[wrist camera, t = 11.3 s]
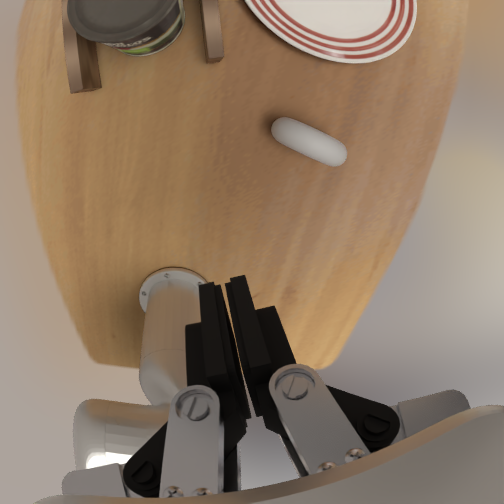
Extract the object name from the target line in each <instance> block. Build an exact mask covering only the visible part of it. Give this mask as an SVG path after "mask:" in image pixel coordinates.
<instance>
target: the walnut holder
mask: <svg viewBox="0 0 504 504" xmlns="http://www.w3.org/2000/svg"><path fill="white" fill-rule="evenodd" d="M199 1H200V10H201V19H202V27H203V36H204V44H205V52H206V61H207V64H208V63H215V62H220V61H221V60H222V59H223V57H224V50H223V42H222V33H221V25H220V16H219V8H218V0H199ZM67 2H68V0H62V22H63V36H64V47H65V57H66V65H67V72H68V79H69V86H70V92H71V93H79V92H87V91H93V90H96V89H99V88H102V87H101V81H100V74H99V67H98V59H97V51H96V43H95V41H91V40H88V39H86V38H84V37H82V36H81V35H79V34H78V33H77V32H76V31H75V30H74V28H73V27H72V26H71V24H70V22H69V19H68V15H67Z"/></svg>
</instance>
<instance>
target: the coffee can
mask: <svg viewBox="0 0 504 504" xmlns="http://www.w3.org/2000/svg"><path fill="white" fill-rule="evenodd" d="M67 15H68V19H69V22H70V24H71V26H72V27H73V28H74V30H75V31H76V32H77V33H78V34H79V35H81V36H82V37H84V38H86V39H88V40H91V41H95V42H100V43H103V44H105V45H108V46H110V47H113V48H115V49H117V50H119V51H121V52H122V53H125V54H128V55H132V56H147V55H151V54H154V53H157V52H159V51H161V50H163V49H165V48H166V47H168V46H169V45H170V44H171V43H173V42H174V41H175V39H176V38H177V37H178V36H179V34H180V32H181V31H182V28H183V26H184V22H185V10H184V7H183V0H68V2H67Z"/></svg>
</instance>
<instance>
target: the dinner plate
mask: <svg viewBox="0 0 504 504" xmlns="http://www.w3.org/2000/svg"><path fill="white" fill-rule="evenodd" d="M245 2H246V3H247V5H248V6H249V8H250V9H251V10H252V11H253V13H254V14H255V15H256V16H257V17H258V18H259V19H260V20H261V21H262V22H263V23H264V24H265V25H266V26H267V27H268V28H269V29H270V30H271V31H273V32H274V33H275V34H276V35H278V36H279V37H280V38H282V39H283V40H285V41H286V42H288V43H289V44H291V45H293V46H295V47H296V48H298V49H300V50H302V51H304V52H307V53H309V54H312V55H314V56H317V57H320V58H323V59H327V60H331V61H336V62H342V63H368V62H373V61H376V60H380V59H382V58H385V57H387V56H389V55H391V54H392V53H394V52H395V51H397V50H398V49H399V48H400V47H401V46H402V45H403V44H404V43H405V42H406V41H407V39H408V38H409V36H410V34H411V32H412V30H413V27H414V24H415V20H416V13H417V3H416V0H245Z"/></svg>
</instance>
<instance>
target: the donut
mask: <svg viewBox="0 0 504 504" xmlns="http://www.w3.org/2000/svg"><path fill="white" fill-rule="evenodd" d="M271 132H272V135H273V137H274V138H275V139H276V140H277V141H278V142H280V143H281V144H283V145H285V146H287V147H289V148H291V149H293V150H295V151H297V152H299V153H301V154H303V155H306V156H308V157H310V158H312V159H314V160H317V161H319V162H321V163H324V164H326V165H329V166H339V165H341V164H342V163H344V161H345V160H346V157H347V150H346V147H345V146H344V145H343V143H341V142H340V141H338V140H337V139H335V138H333V137H331V136H329V135H327V134H325V133H323V132H321V131H319V130H317V129H315V128H313V127H311V126H308V125H306V124H304V123H302V122H299V121H297V120H294V119H291V118H288V117H281V118H278V119H277V120H276V121H274V123H273V124H272V128H271Z"/></svg>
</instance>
